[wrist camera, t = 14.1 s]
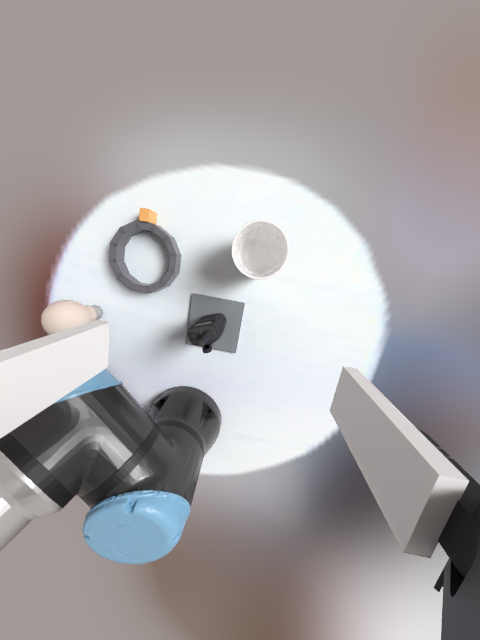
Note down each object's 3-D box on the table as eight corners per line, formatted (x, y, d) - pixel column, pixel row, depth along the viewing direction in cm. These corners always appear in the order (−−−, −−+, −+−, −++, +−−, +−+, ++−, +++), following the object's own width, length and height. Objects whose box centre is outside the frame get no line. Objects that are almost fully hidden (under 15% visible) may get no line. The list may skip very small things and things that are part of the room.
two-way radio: (226, 310, 43) (211, 331, 28) (231, 332, 44) (218, 364, 29) (198, 315, 43) (169, 339, 29) (203, 337, 44) (178, 371, 30)
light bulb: (112, 295, 44) (67, 304, 34) (115, 328, 46) (73, 346, 35) (80, 294, 45) (25, 301, 34) (84, 326, 46) (32, 343, 35)
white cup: (275, 281, 42) (281, 284, 32) (233, 272, 42) (226, 273, 32) (285, 236, 40) (295, 226, 30) (242, 227, 40) (237, 214, 30)
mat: (235, 351, 45) (235, 352, 44) (186, 342, 45) (186, 343, 45) (244, 302, 43) (244, 303, 42) (193, 293, 43) (192, 293, 42)
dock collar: (176, 295, 43) (171, 297, 40) (116, 284, 44) (106, 285, 41) (185, 218, 40) (179, 214, 37) (120, 207, 41) (109, 202, 38)
